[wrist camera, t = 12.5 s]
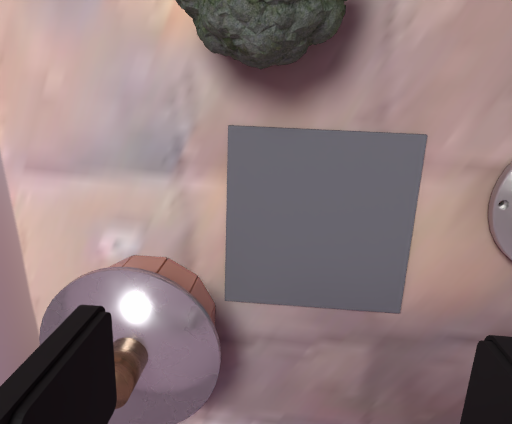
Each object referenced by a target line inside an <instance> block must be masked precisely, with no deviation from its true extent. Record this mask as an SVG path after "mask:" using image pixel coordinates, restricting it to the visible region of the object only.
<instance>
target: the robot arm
mask: <svg viewBox="0 0 512 424" xmlns="http://www.w3.org/2000/svg"><path fill="white" fill-rule="evenodd" d="M500 201H502V202H501V204H499V202H500ZM498 204H499V205H498ZM488 220H489V226H490V231H491V233H492V236H493V238H494V241H495V242H496V244H497V245H498V247H499V248H500V250H501V251H502V252H503V253H504V254H505V255H506V256H507V257H508V258H509V259H511V260H512V162H511V163H510V164H509V165H508V166H507V167H506V169H505V170H504V171H503V173H502V174H501V176H500V177H499V178H498V180H497V183H496V185H495V187H494V189H493V191H492V195H491V198H490V202H489V212H488ZM116 402H117V391H116V376H115V361H114V346H113V331H112V317H111V314H110V313H109V312H105V308H104V307H103V306H95V305H79V306H78V307H77V308H76V309H75V310H74V311H73V312H72V313H71V314H70V315H69V316H68V317H67V318H66V319H65V320H64V321H63V322H62V323H61V324H60V326H59V327H58V328H57V329H56V330H55V331H54V332H53V333H52V334H51V335H50V336H49V337H48V338H47V339H46V340H45V341H44V342H43V343H42V344H41V345H40V346H39V347H38V348H37V349H36V350H35V352H33V354H31V356H30V357H28V359H27V360H26V361H25V362H24V363H23V364H22V365H21V366H20V367H19V368H18V369H17V370H16V371H15V372H14V373H13V374H12V375H11V376H10V377H9V378H8V379H7V380H6V381H5V382H4V383H3V384H2V385H1V386H0V424H108V422H109V420H110V418H111V417H112V415H113V413H114V410H115V407H116ZM460 424H512V337H506V336H493V335H489V336H487V337H486V338H485V340H484V341H479V343H478V345H477V348H476V353H475V357H474V362H473V367H472V371H471V376H470V380H469V385H468V390H467V394H466V399H465V403H464V408H463V412H462V417H461V422H460Z"/></svg>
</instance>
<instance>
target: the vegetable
mask: <svg viewBox="0 0 512 424" xmlns="http://www.w3.org/2000/svg"><path fill="white" fill-rule="evenodd" d="M344 1H347V0H176V2H177V3H178V5H179V6H180V7H181V8H182V9H184V10H185V12H186V13H187V14H188V15H189V16H190V17H191V18H193V22H194V24H195V26H196V30H197V34H198V36H199V38H200V40H202V41H203V42H204V45H205V46H206V47H207V48H208V49H209V50H210V51H211V52H213V53H218V54H222V55H224V56H230V57H232V58H233V59H235V60H239V61H241V62H242V63H244V64H246V65H248V66H251V67H257V68H259V69H263V68H266V67H269V66H272V65H285V64H290V63H293V62H295V61H297V60H298V59H300V58H301V57H302V56H303V55H304V54H305V53H306V51H307V48H308V46H309V45H312V44H314V45H316V44H317V43H323V42H325V41H326V40H328V39H330V38H332V37H333V36H334V35H335V34H336V33H337V30H338V28H339V26H340V25H341V23H342V19H343V17H344V14H345V7H346V5H344Z"/></svg>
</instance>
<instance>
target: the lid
mask: <svg viewBox="0 0 512 424" xmlns="http://www.w3.org/2000/svg"><path fill="white" fill-rule="evenodd" d="M79 305H95V306H103V307H104V308H105V312H109V313H110V314H111V317H112V331H113V346H114V361H115V376H116V391H117V402H116V407H115V410H114V413H113V415H112V417H111V418H110V420H109V422H108V424H177V423H179V422H181V421H183V420H185V419H187V418H188V417H190V416H191V415H193V414H194V413H195V412H196V411H197V410H199V409H200V408H201V407H202V406H203V404H204V403H205V402H206V401H207V400H208V398H209V396H210V395H211V393H212V392H213V389H214V387H215V385H216V382H217V378H218V374H219V370H220V364H221V346H220V341H219V337H218V334H217V331H216V328H215V325H214V323H213V322H212V320H211V318H210V316H209V314H208V313H207V311H206V310H205V309H204V307H203V306H202V305H201V304H200V302H199V301H198V300H197V299H196V298H195V297H194V296H193V295H192V294H191V293H189V292H188V291H187V290H186V289H185V288H183V287H182V286H180V285H179V284H177V283H176V282H174V281H172V280H170V279H168V278H167V277H165V276H162V275H160V274H157V273H154V272H152V271H148V270H144V269H140V268H132V267H109V268H102V269H98V270H95V271H91V272H89V273H86V274H84V275H82V276H80V277H78V278H77V279H75V280H73V281H72V282H71V283H69V284H68V285H67V286H66V287H65V288H63V289H62V290H61V291H60V292H59V293H58V294H57V295H56V296H55V298H54V299H53V300H52V301H51V303H50V305H49V306H48V308H47V310H46V312H45V314H44V317H43V319H42V323H41V327H40V337H39V339H40V345H41V344H42V343H43V342H44V341H45V340H46V339H47V338H48V337H49V336H50V335H51V334H52V333H53V332H54V331H55V330H56V329H57V328H58V327H59V326H60V324H61V323H62V322H63V321H64V320H65V319H66V318H67V317H68V316H69V315H70V314H71V313H72V312H73V311H74V310H75V309H76V308H77V307H78V306H79Z"/></svg>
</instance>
